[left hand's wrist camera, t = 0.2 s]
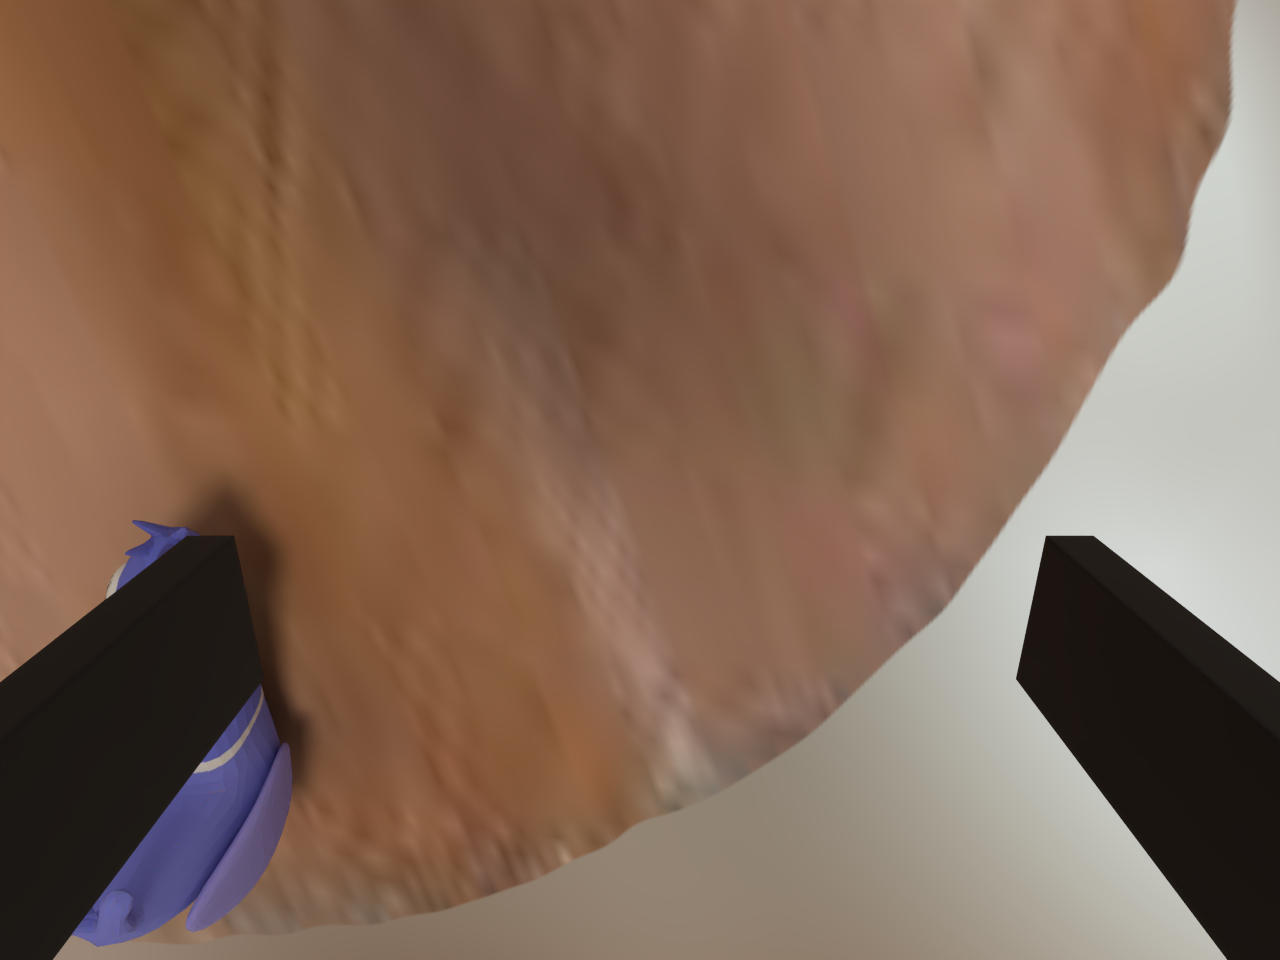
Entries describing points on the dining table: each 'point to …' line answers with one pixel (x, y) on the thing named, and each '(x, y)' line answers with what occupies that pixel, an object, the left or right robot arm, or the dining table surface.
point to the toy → (200, 815)
